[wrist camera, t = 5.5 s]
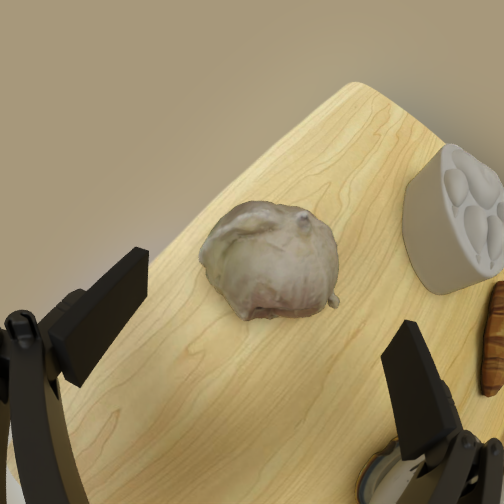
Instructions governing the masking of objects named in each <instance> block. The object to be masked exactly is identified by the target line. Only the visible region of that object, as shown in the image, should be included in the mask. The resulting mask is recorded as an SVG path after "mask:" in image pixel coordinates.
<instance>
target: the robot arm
mask: <svg viewBox="0 0 504 504" xmlns="http://www.w3.org/2000/svg"><path fill="white" fill-rule="evenodd" d="M148 261H149V251H148V250H145V249H142V248H138V247H134V248H133V249H132V250H131V251H130V252H129V253H128V254H127V255H125V256H124V257H123V258H122V259H121V260H120V261H119V262H118V263H116V264H115V265H114V266H113V267H112V268H111V269H110V270H109V271H108V272H107V273H106V274H104V275H103V276H102V277H101V278H100V279H99V280H98V281H97V282H96V283H95V284H94V285H93V286H92V287H91V288H90V289H89V290H87V291H84V290H82V289H77V290H75V291H73V292H71V293H69V294H68V295H67V296H66V297H65V298H64V299H63V300H62V302H60V303H58V304H57V305H56V307H54V308H53V309H52V310H51V311H50V312H49V313H48V314H47V315H46V316H45V317H44V318H43V319H42V320H41V321H40V322H39V323H38V324H37V322H36V319H35V316H34V315H33V314H32V313H31V312H29V311H27V310H18V311H14V312H13V313H11V314H10V315H9V316H8V317H7V318H6V320H5V323H4V325H5V327H6V330H3V329H1V328H0V504H7V502H6V460H7V446H8V435H9V427H10V420H11V429H12V438H13V446H14V452H15V458H16V464H17V469H18V474H19V479H20V483H21V487H22V491H23V495H24V499H25V502H26V504H89V501H88V498H87V496H86V493H85V490H84V487H83V485H82V482H81V479H80V476H79V473H78V469H77V466H76V463H75V459H74V456H73V452H72V448H71V444H70V440H69V436H68V432H67V427H66V422H65V417H64V412H63V406H62V400H61V394H60V387H59V380H58V378H57V377H58V375H59V374H60V373H61V371H62V373H63V375H64V378H65V380H67V381H68V382H70V383H72V384H74V385H75V386H77V387H79V388H81V386H82V385H83V383H84V382H85V380H86V379H87V378H88V376H89V375H90V373H91V372H92V370H93V369H94V368H95V366H96V365H97V363H98V362H99V360H100V359H101V358H102V356H103V355H104V353H105V352H106V351H107V349H108V348H109V346H110V345H111V344H112V342H113V341H114V340H115V338H116V337H117V336H118V334H119V333H120V331H121V330H122V329H123V327H124V326H125V325H126V323H127V322H128V321H129V319H130V318H131V317H132V315H133V314H134V313H135V311H136V310H137V309H138V308H139V306H140V305H141V304H142V302H143V301H144V300H145V298H146V297H147V287H148ZM381 361H382V365H383V369H384V373H385V377H386V381H387V385H388V389H389V394H390V398H391V403H392V408H393V413H394V418H395V423H396V428H397V434H398V440H399V446H400V452H401V459H402V461H410V460H416V459H417V458H419V457H420V456H421V455H423V454H424V456H425V459H424V460H423V461H421V462H420V463H418V464H417V465H415V466H414V467H412V468H411V469H410V470H409V471H413V470H414V469H416V468H417V470H416V472H414V473H413V474H414V475H413V477H412V478H411V480H410V482H409V483H408V485H407V487H406V488H405V490H404V491H403V493H402V495H401V496H400V498H399V499H398V501H397V502H396V504H500V501H501V492H502V482H503V466H504V449H503V445H502V443H501V442H500V441H499V440H498V439H497V438H491V439H490V440H488V441H487V442H486V443H485V444H484V443H480V442H477V441H476V438H475V436H474V435H473V434H472V433H471V432H470V431H468V430H463V427H462V424H461V421H460V418H459V415H458V412H457V409H456V406H454V404H455V403H454V401H453V399H452V395H451V392H450V390H449V388H448V386H447V385H446V384H445V382H444V381H443V380H441V379H440V376H439V374H438V371H437V369H436V366H435V364H434V361H433V359H432V357H431V354H430V352H429V350H428V347H427V345H426V343H425V340H424V338H423V336H422V334H421V332H420V329H419V327H418V325H417V323H416V322H414V321H409V320H404V322H403V323H402V325H401V327H400V328H399V330H398V331H397V333H396V334H395V336H394V337H393V339H392V341H391V342H390V344H389V345H388V347H387V348H386V349H385V351H384V352H383V354H382V355H381ZM476 476H478V479H477V481H476V482H474V483H473V484H471V481H472V479H473V478H475V477H476Z"/></svg>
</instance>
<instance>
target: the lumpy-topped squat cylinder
mask: <svg viewBox="0 0 504 504" xmlns="http://www.w3.org/2000/svg"><path fill="white" fill-rule="evenodd" d="M402 233H403V239H404V243H405V246H406V250H407V253H408V256H409V259H410V261H411V264H412V266H413V269H414V271H415V272H416V274H417V276H418V277H419V279H420V280H421V282H422V283H423V285H424V286H425V287H426V288H427V289H428V290H429V291H431V292H432V293H434V294H437V295H445V294H448V293H451V292H454V291H457V290H460V289H463V288H466V287H468V286H471V285H474V284H477V283H479V282H482V281H485V280H487V279H490V278H492V277H494V276H496V275H497V274H498V273H500V272H501V271H502V270H503V268H504V188H503V186H502V184H501V182H500V180H499V177H498V176H497V174H496V173H495V172H494V171H493V170H492V169H490V168H489V167H488V166H487V165H485V164H483V163H481V162H479V161H478V160H477V159H475V158H474V157H473V156H472V155H471V154H470V153H468V152H466V151H465V150H463V149H462V148H460V147H459V146H457V145H455V144H451V143H449V144H446V145H444V146H443V147H442V148H441V149H440V150H439V151H438V152H437V153H436V155H435V156H434V157H433V158H432V159H431V160H430V161H429V162H428V163H427V164H426V165H425V167H424V168H423V169H422V170H421V171H420V172H419V173H418V174H417V175H416V176H415V177H414V178H413V179H412V180H411V181H410V183H409V184H408V186H407V188H406V192H405V198H404V205H403V217H402Z"/></svg>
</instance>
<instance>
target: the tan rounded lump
mask: <svg viewBox="0 0 504 504" xmlns="http://www.w3.org/2000/svg"><path fill="white" fill-rule="evenodd" d="M199 262H200V263H201V264H202V265H203V266H204V267H205V268H206V276H207V278H208V280H209V282H210V284H211V285H213V286H214V287H215V290H216V291H217V292H218V293H219V294H222V295H224V296H225V298H226V299H227V301H228V303H229V305H230V306H231V308H232V309H233V310H234V311H235V313H236V314H237V316H238V317H239V318H240V319H241V320H243V321H249V320H252V319H255V318H267V319H272V318H275V317H278V316H282V317H289V318H298V317H302V318H303V317H310V316H312V315H314V314H317V313H318V312H320V311H321V310H323V309H324V307H325V305H326V303H327V301H328V304H329V306H330V307H332V308H334V309H336V308H338V306H339V303H340V300H339V298H338V297H337V296H336V295H335V294H334V288H335V285H336V282H337V278H338V271H339V259H338V253H337V244H336V242H335V240H334V237H333V233H332V230H331V229H330V227H329V226H328V225H326V224H325V223H323V222H322V221H320V220H319V219H317V218H316V217H315V216H314V215H313V214H312V213H311V212H310V211H308V210H306V209H303V208H300V207H297V206H287V205H282V204H277V205H276V204H274V203H272V202H268V201H249V202H246V203H242V204H240V205H238V206H236V207H234V208H233V209H232V210H231V211H230V212H229V213H227V214H226V215H225V216H223V217H222V218H221V219H220V220H219V221H218V223H217V224H216V225H215V226H214V228H213V229H212V230H211V232H210V234H209V235H208V237H207V239H206V241H205V242H204V244H203V245H202V247H201V248H200V252H199Z"/></svg>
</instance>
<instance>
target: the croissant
mask: <svg viewBox="0 0 504 504" xmlns="http://www.w3.org/2000/svg"><path fill="white" fill-rule="evenodd" d="M503 384H504V281H498V282H497V283H496V284H495V287H494V289H493V292H492V296H491V301H490V305H489V316H488V319H487V323H486V328H485V332H484V343H483V363H482V373H481V389H482V395H484V396H486V397H491V396H494V395H496V394H497V392H498V391H499V390H500V388H501V387H502V386H503Z"/></svg>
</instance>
